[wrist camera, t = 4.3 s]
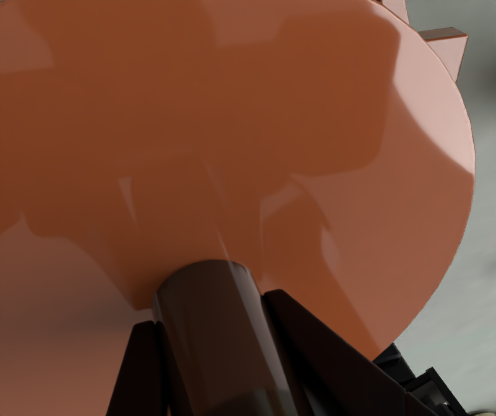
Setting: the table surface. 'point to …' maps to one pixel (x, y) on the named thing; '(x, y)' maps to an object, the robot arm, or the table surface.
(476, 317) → the table surface
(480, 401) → the table surface
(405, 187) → the pot lid
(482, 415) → the toy tea set
